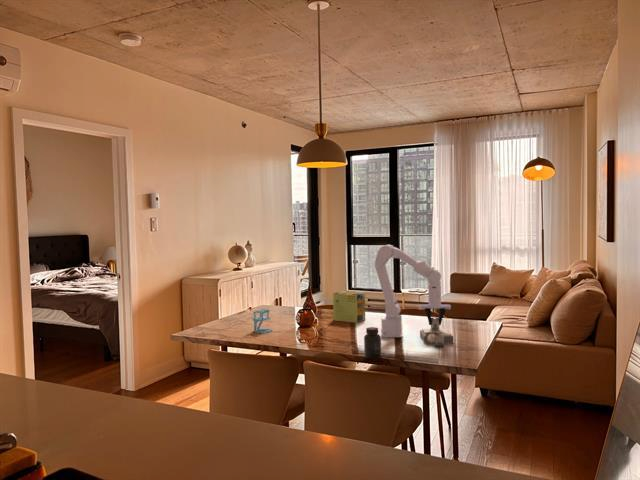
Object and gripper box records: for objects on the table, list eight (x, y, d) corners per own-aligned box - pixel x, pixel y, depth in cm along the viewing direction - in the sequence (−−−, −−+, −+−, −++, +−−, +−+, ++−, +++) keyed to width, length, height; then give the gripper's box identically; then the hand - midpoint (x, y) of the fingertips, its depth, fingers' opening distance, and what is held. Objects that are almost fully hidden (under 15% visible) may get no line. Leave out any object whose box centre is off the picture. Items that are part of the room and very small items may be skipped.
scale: (425, 344, 219) (425, 333, 219) (420, 336, 234) (419, 326, 234) (454, 344, 218) (454, 333, 218) (447, 336, 233) (447, 325, 233)
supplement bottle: (379, 355, 203) (379, 326, 202) (382, 359, 196) (382, 329, 195) (363, 355, 202) (363, 326, 202) (365, 360, 196) (365, 330, 195)
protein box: (357, 323, 268) (357, 294, 267) (333, 320, 276) (332, 293, 275) (365, 319, 277) (365, 292, 276) (342, 317, 285) (341, 290, 284)
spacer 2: (435, 348, 212) (435, 336, 212) (433, 345, 216) (433, 334, 216) (444, 347, 212) (444, 336, 212) (443, 345, 216) (443, 334, 216)
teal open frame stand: (260, 329, 255) (259, 306, 255) (272, 331, 251) (272, 307, 251) (250, 332, 249) (249, 309, 248) (263, 334, 244) (262, 310, 244)
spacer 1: (430, 329, 228) (430, 318, 228) (430, 327, 232) (430, 317, 232) (439, 329, 227) (439, 319, 227) (439, 327, 231) (439, 317, 231)
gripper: (420, 297, 226) (420, 326, 227) (452, 297, 225) (452, 326, 226) (418, 294, 233) (418, 323, 234) (448, 294, 232) (449, 323, 233)
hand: (434, 324), depth 230 cm, fingers closed on spacer 1, 4 cm apart
